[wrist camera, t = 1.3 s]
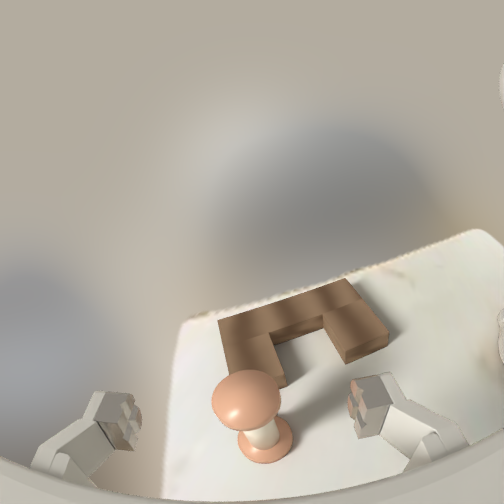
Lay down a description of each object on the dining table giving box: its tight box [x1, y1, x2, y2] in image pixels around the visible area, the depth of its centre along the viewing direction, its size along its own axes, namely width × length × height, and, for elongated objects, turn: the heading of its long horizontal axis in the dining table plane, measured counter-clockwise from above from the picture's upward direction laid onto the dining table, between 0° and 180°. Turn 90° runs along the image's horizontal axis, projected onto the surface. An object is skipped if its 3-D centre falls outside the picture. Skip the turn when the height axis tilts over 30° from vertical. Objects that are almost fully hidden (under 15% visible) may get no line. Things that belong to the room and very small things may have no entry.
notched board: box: [218, 278, 389, 389], centre depth 44 cm, size 22×14×3 cm, turn 104°
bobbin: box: [212, 370, 293, 464], centre depth 29 cm, size 6×6×11 cm
